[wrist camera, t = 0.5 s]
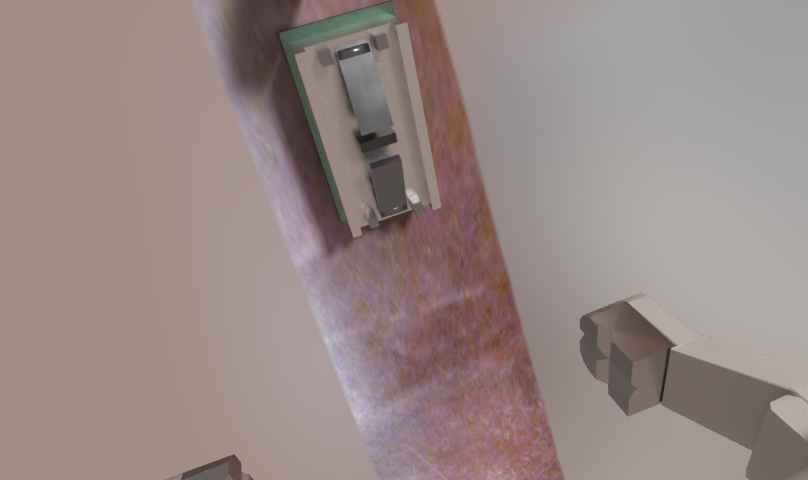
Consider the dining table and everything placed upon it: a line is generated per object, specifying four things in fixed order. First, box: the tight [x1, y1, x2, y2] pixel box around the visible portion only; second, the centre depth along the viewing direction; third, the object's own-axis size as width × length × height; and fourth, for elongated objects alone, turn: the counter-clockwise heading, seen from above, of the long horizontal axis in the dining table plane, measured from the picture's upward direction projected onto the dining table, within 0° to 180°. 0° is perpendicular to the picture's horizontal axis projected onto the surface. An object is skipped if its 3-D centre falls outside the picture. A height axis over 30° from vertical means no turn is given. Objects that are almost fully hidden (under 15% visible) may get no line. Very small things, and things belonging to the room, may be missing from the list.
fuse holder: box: [278, 0, 441, 238], centre depth 49 cm, size 21×11×7 cm, turn 12°
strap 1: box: [335, 41, 394, 136], centre depth 43 cm, size 8×3×1 cm, turn 12°
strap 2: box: [369, 154, 408, 218], centre depth 49 cm, size 8×3×1 cm, turn 11°
